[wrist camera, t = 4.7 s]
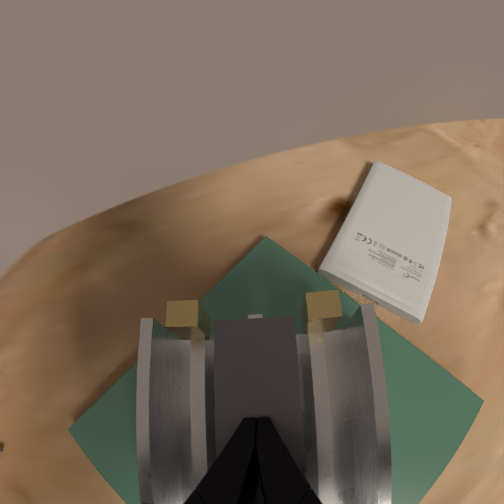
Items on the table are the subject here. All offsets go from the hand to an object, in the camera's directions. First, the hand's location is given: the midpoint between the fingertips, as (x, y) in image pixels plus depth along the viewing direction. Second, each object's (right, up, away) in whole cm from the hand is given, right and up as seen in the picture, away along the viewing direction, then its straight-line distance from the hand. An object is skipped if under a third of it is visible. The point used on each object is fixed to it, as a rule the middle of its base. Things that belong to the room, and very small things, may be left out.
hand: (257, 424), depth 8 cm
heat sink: (+1, -5, +5) cm, 7 cm away
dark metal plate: (0, -2, 0) cm, 2 cm away
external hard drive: (+11, +7, +13) cm, 18 cm away
